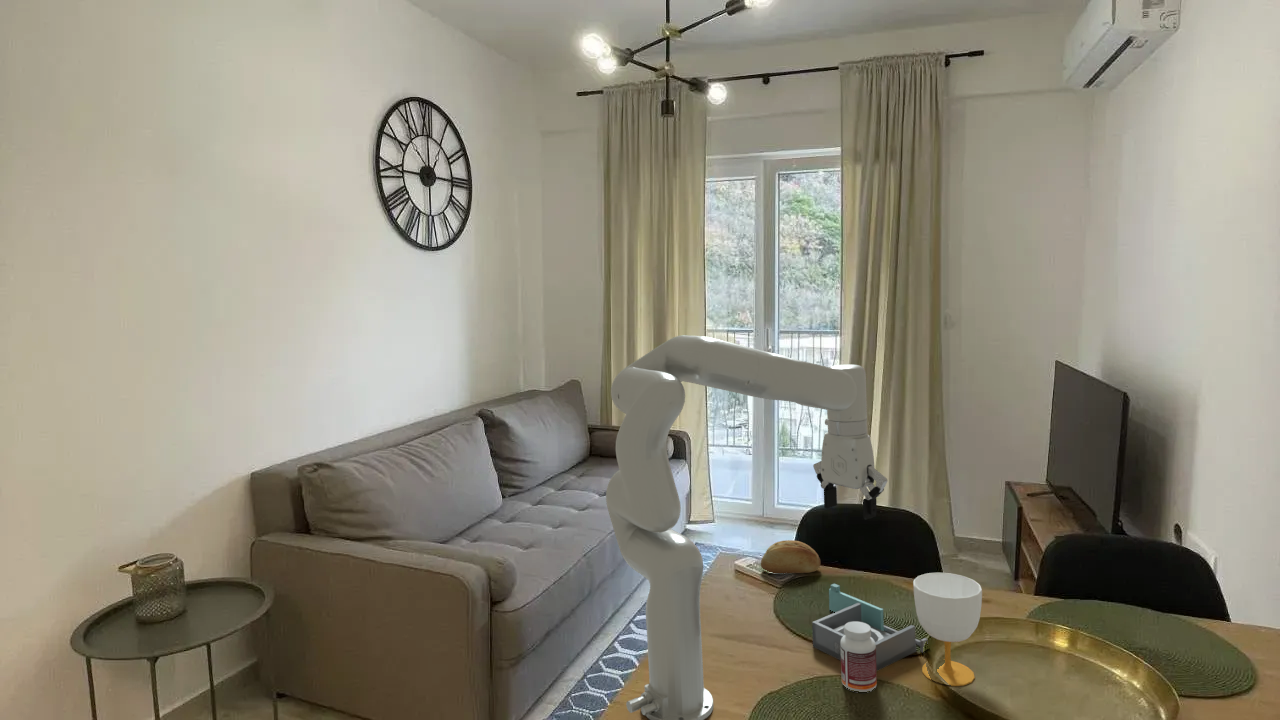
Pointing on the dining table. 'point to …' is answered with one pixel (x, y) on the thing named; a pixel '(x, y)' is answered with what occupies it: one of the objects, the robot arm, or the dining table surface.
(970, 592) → the cup
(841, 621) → the housing
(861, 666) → the pill bottle
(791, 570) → the bread roll
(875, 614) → the gate
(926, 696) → the dining table surface
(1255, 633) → the dining table surface
